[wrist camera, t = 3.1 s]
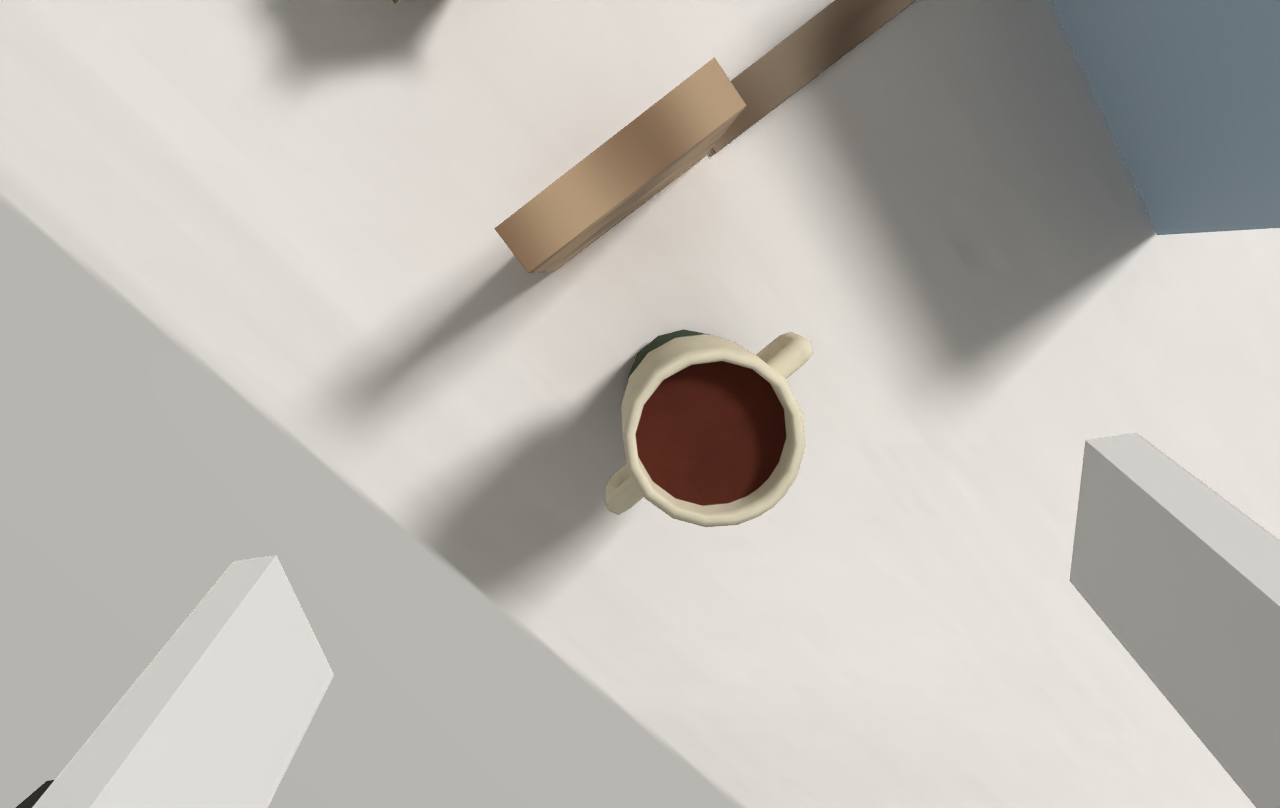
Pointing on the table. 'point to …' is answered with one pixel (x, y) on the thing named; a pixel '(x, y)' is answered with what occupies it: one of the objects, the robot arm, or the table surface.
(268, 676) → the robot arm
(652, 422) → the character mug
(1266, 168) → the door
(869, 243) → the table surface
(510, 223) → the door frame
